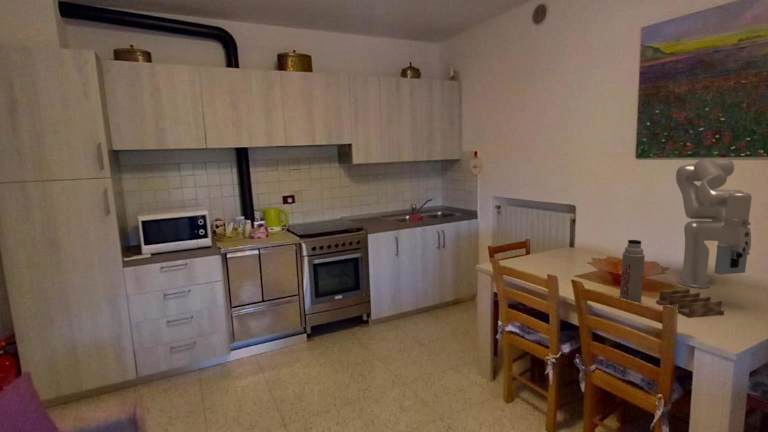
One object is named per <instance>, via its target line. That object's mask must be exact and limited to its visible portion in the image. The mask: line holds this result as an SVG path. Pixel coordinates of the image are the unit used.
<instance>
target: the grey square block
mask: <svg viewBox="0 0 768 432" xmlns="http://www.w3.org/2000/svg"><path fill="white" fill-rule="evenodd" d="M742 253H743V251H742ZM737 254H738V253H737ZM731 258H733V251H732V250H731V245H727V244H722V245H718V244H717V245H716V255H715V263H714V271H713V273H714V274H716V275H720V276H721V275H732V274H734V275H735V274H742V273H743V274H744V273H746V269H747V267H746V266H747V261H748V255H746V256H743V257H742V258H740V259H739V266H738V268H731V267H730V265H731Z"/></svg>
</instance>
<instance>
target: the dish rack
mask: <svg viewBox="0 0 768 432" xmlns="http://www.w3.org/2000/svg"><path fill="white" fill-rule="evenodd" d="M658 298H659V299H656V301H655V304H656V305H659V306H661V305H670V306H673V307H675V308H677V310H678V313H677V314H680V315H681V316H684V317H686V318H687V319H688V318H690V319H691V318H700V317H703V318H704V317H711V316H712V317H713V316H724V314H725V311H724V310H723V309H722V306H723V305H722V303H723V301H722V300H711V298H712V297H711V296H701V293H700V292H691V289H689V288H684V289H673V290H670V289H669V290H660V291H659V297H658Z"/></svg>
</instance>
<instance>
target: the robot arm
mask: <svg viewBox="0 0 768 432" xmlns="http://www.w3.org/2000/svg"><path fill="white" fill-rule="evenodd" d="M734 170H735V165H734V163H733V160H731V159H730V158H726V157H721V158H720V157H717V158H713V157H711V158H702V159H699V160H697V161H696V162H695V163H693V164H692V163H691V164H683V165H681V166H679V167H677V170H676V173H675V180H676V184H677V186H678V188H679V191H680V193H681V197H682V203H683V208H684V213H685V216H686V218H688V219H690V221H688V222H686V223H685V225H684V227H683V232H684V253H683V262H682V263H683V264H682V273H681V274H682V276H681V277H680V278H678V279H677V283H678V284H680V285H683V286H685V287H690V288H695V289H696V288H698V289H707V288H710V287H711V283H709V281H714V280H715V278H716V277H715V276H714V275H712V276H711V275H710V276H709V275H708V271H709V269H708V267H709V259H710V248H709V247H708V245H707V244H706V242H713V241H714V242H717V245H722V244H727V245H731V250H732V251H733V258H731V265H730V267H731V268H738V266H739V259H740V258H742V257H743V256H746V255H747V256H749V255H750V251H751V249H752V248H751V247H752V233H751V228H750V227H749V226H751V223H752V222H750V221H749V220H750V213H751V205H752V198H753V197H752V194H751V193H749V192H746V191H743V190H740V189H719V188H721V187H723V186H724V185H725V184H726V183H727V181H728V178H729V177H730V176H731V175H732V174H733V173H734ZM695 182H700V184H696V183H695ZM742 251H743V253H742ZM737 253H738V254H737Z"/></svg>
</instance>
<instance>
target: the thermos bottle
mask: <svg viewBox="0 0 768 432" xmlns="http://www.w3.org/2000/svg"><path fill="white" fill-rule="evenodd" d="M621 260H622V261H621V277H620V278H621V279H620V287H619V299H620V298H623V299H626V300H630V301H633V302H638V303H641V304H642V294H643V293H642V292H643V291H642V290H643V281H644V267H645V253H644V249H643V248H642V241H641V240H637V239H628V240H627V246H626V247H624V251H623V252H622V259H621Z"/></svg>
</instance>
